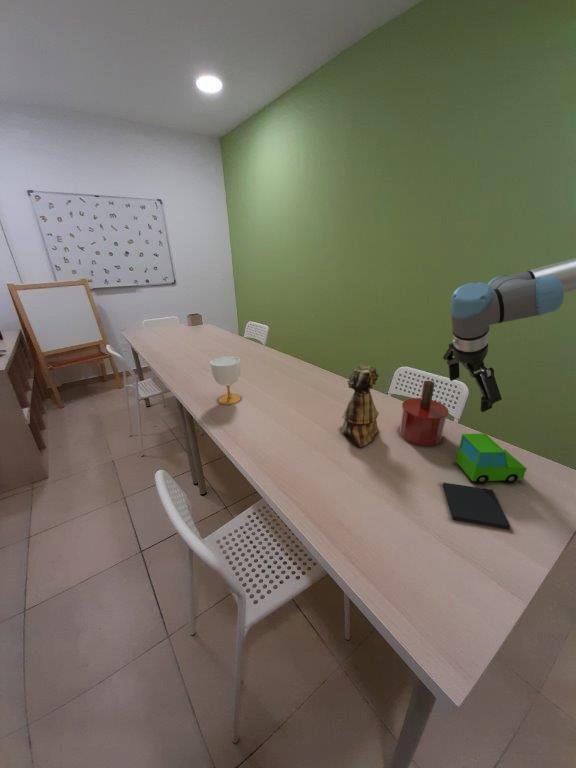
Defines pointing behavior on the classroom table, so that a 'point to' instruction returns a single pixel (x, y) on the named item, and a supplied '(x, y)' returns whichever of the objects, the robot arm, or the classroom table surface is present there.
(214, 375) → the cup
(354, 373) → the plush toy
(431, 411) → the lid
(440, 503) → the classroom table surface
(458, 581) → the classroom table surface
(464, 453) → the toy car
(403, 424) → the pot
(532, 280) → the robot arm
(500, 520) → the plate
